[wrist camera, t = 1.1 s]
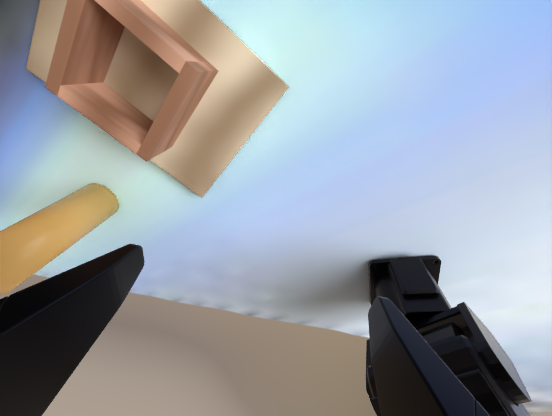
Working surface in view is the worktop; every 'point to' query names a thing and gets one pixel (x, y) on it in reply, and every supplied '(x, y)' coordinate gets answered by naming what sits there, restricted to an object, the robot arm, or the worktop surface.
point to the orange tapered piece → (51, 232)
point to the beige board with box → (156, 79)
